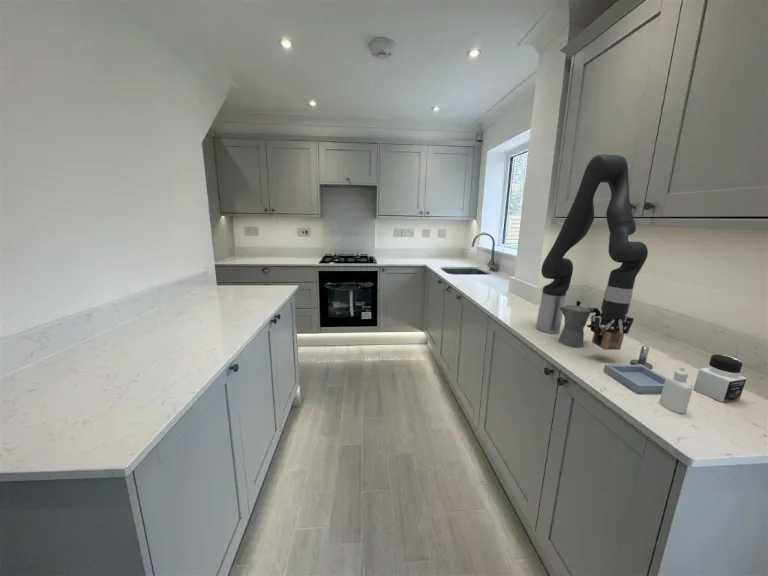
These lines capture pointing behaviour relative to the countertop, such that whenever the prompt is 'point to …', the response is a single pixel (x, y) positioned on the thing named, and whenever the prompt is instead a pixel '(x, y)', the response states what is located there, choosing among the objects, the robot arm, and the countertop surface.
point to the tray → (637, 378)
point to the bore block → (610, 340)
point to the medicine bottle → (721, 379)
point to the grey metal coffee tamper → (642, 358)
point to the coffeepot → (575, 324)
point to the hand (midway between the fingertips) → (606, 343)
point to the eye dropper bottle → (676, 392)
